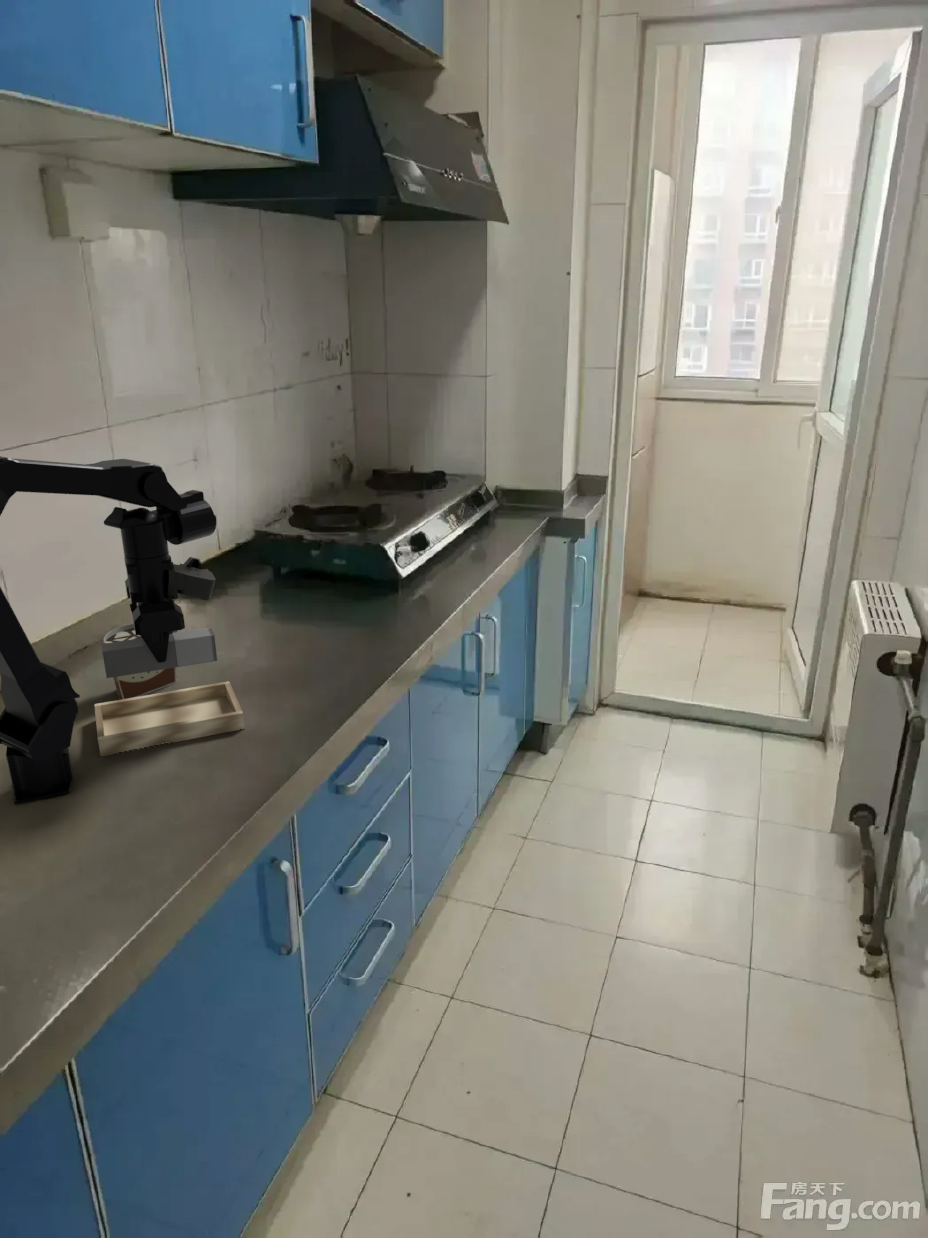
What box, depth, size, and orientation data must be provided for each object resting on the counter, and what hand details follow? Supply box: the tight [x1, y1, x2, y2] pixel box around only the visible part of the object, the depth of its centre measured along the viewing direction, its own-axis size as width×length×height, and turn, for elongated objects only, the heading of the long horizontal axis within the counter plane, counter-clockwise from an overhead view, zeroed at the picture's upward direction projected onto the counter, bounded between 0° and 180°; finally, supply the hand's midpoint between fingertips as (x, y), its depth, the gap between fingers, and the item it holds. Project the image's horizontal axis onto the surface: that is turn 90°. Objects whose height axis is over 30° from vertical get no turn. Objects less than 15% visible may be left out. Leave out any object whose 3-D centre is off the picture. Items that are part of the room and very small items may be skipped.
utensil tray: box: [94, 680, 245, 757], centre depth 126 cm, size 20×12×3 cm, turn 114°
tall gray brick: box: [101, 627, 218, 679], centre depth 122 cm, size 15×3×4 cm, turn 114°
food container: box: [101, 622, 178, 700], centre depth 136 cm, size 12×6×10 cm, turn 141°
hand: (160, 657), depth 122 cm, fingers closed on tall gray brick, 3 cm apart
